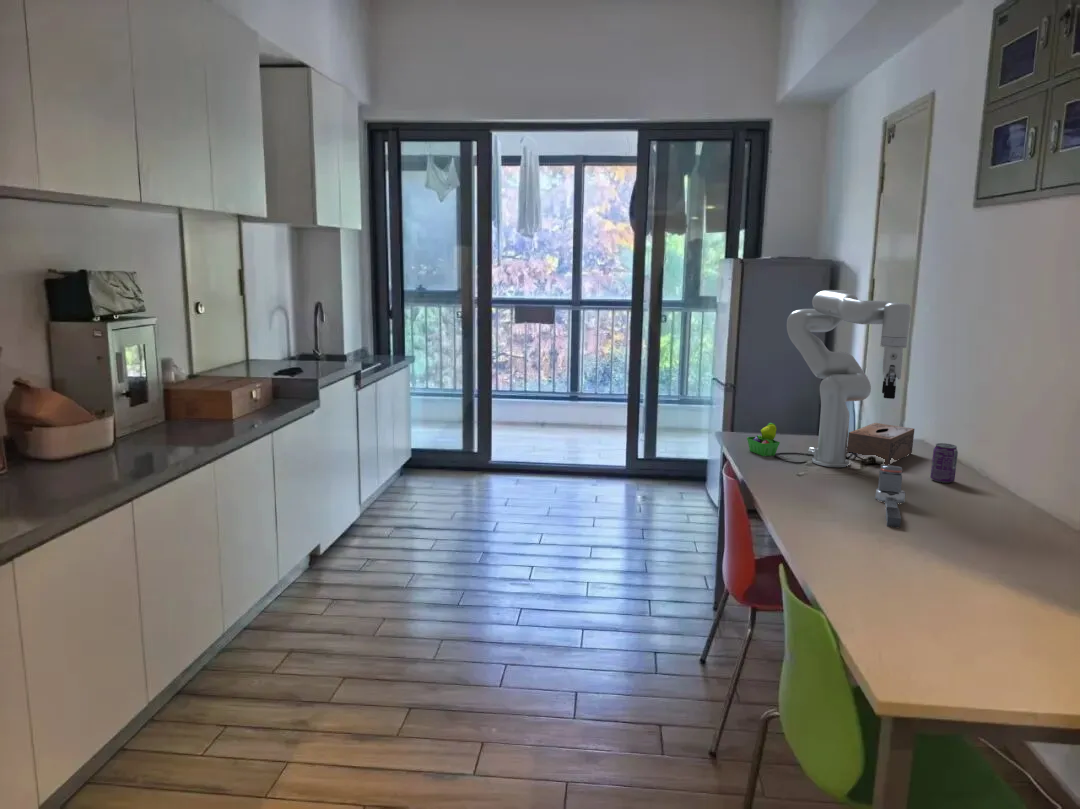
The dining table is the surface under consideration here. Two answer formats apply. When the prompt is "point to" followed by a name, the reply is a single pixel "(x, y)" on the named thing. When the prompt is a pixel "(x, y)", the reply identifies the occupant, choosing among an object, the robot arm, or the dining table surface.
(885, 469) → the grey domed block
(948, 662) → the dining table surface
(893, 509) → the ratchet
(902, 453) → the tissue box cover
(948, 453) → the beverage can
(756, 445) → the fruit basket
